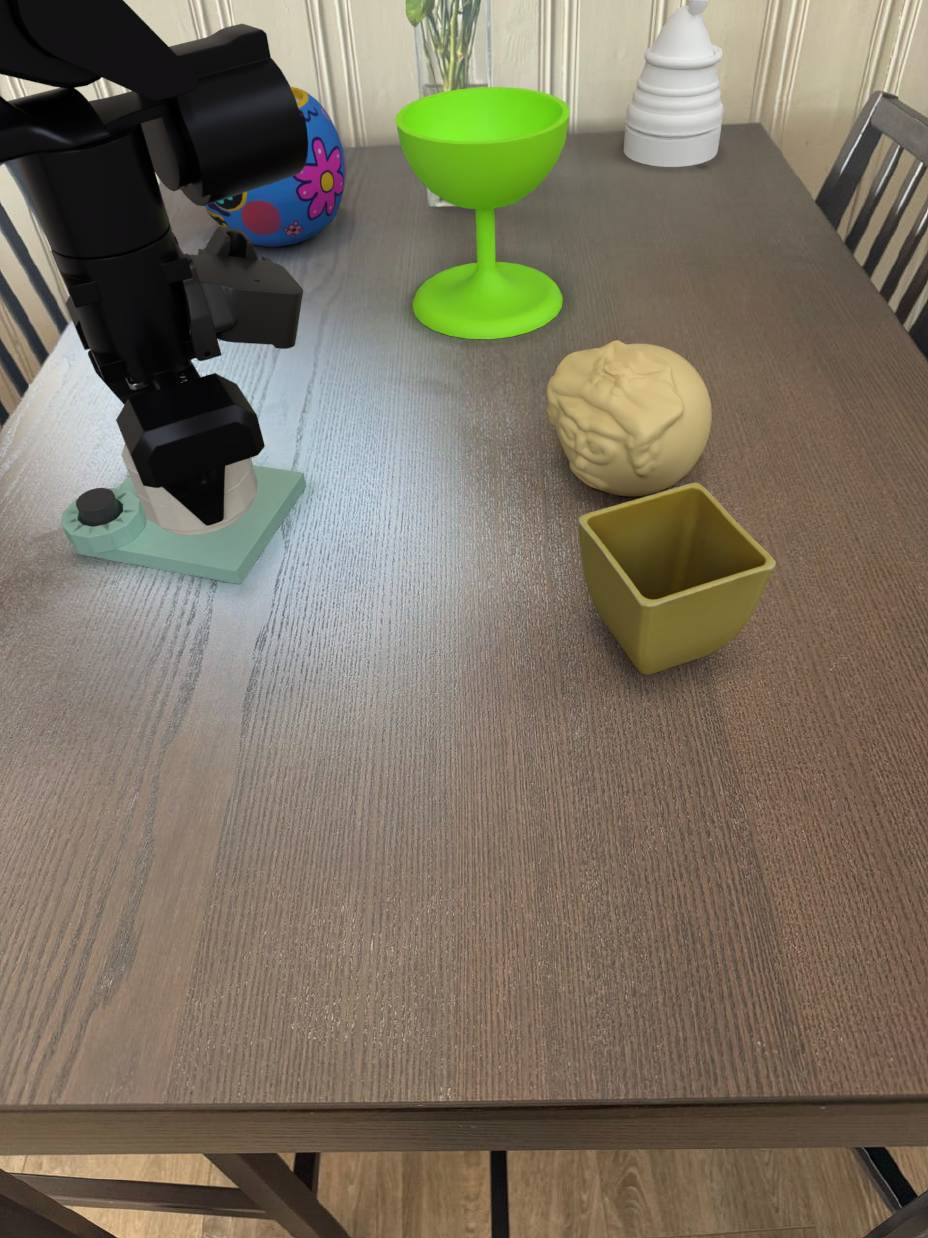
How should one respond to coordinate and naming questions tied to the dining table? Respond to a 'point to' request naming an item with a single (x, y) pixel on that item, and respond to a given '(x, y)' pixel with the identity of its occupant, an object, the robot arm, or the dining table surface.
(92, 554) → the scale
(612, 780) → the dining table surface
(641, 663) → the flower pot
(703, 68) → the honey pot
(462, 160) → the wineglass
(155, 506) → the bowl
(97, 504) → the button
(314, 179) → the ceramic pot
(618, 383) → the sculpture
